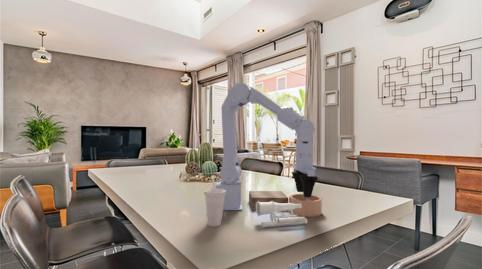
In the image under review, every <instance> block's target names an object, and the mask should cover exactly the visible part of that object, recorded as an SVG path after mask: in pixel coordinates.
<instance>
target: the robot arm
mask: <svg viewBox="0 0 482 269" xmlns="http://www.w3.org/2000/svg"><path fill="white" fill-rule="evenodd" d="M249 103H250V104H258V105H259V106H262V107H263V108H264V109H265V110H267V111H269V112H271V113H273V114H274V115H276V120H277V121H278V122H279V123H281V124H282V125H284V126H285V127H287V128H289V129H290V130H291V131H295V133H296V142H295V166H294V170H295V171H291V174H292V177H293V179H294V183H295V188H296V191H297V193H302V194H304V197H311V195H313V192H314V187H315V185H316V183H317V181H318V180H319V177H318V176H317V175H315V174H316V173H315V171H316V170H317V167H314V166H313V165H314V141H313V139H314V137H313V136H314V135H313V134H314V133H315V130H316V127H315V125H314V123H313V122H312V121H311V120H309V119H305V118H306V117H305V116H304V115H301V114H299V113H297V112H296V111H295V110H294V108H293V107H291V106H290V107H288V106H280V105H279V104H278V103H276V102H275V101H273V100H272V99H270V98H269V97H268V96H266V95H265V94H263V93H262V92H261V91H259V90H257V89H255V88H254V87H252V86H249V85H247V84H246V83H244V82H238V83H235V84H233V86H232V87H230V88H229V90H228V92H227V95H226V97H225V99H224V101H223V103H222V105H221V109H220V110H221V128H222V130H221V131H222V148H223V157H222V162H221V169H220V172H219V176H220V179H221V180H220V182H215V183H214V188H218V189H224V190H226V195H225V199H224V206H223V211H242V210H243V206H242V203H241V200H242V199H241V198H242V196H241V195H242V181H241V179H240V177H241V175H242V172H243V170H242V168H241V165H240V163H239V156H238V143H237V142H238V141H237V124H236V121H237V120H236V112H237V111H238V110H239V109H240V108H242V107H243V106H246V105H247V104H249Z"/></svg>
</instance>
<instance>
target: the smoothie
mask: <svg viewBox="0 0 482 269" xmlns="http://www.w3.org/2000/svg"><path fill="white" fill-rule="evenodd" d="M215 178H216V176H215V175H212V188H207V189H205V190H204V191H203V192H204V193H203V195H204V198H205V206H206V216H207V217H206V218H207V225H208V227H213V228H214V227H220V226H221V225H222V218H223V211H224V210H223V206H224V199H225V195H226V190H224V189H218V188H215V183H216V181H215Z"/></svg>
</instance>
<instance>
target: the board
mask: <svg viewBox="0 0 482 269" xmlns="http://www.w3.org/2000/svg"><path fill="white" fill-rule="evenodd" d="M270 201H273V202H275V203H289V196H287V195H286V194H285V193H284V192H283V191H282V190H248V203H249V205H250V207H251V208H250V209H251V210H256V202H270Z"/></svg>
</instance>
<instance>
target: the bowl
mask: <svg viewBox="0 0 482 269" xmlns="http://www.w3.org/2000/svg"><path fill="white" fill-rule="evenodd" d="M298 199H309V200H311V201H305V200H298ZM288 203H293V204H301V205H302V208H296V209H293V210H292V211H293V214H294V215H297V217H303V216H304V217H305V218H315V217H319V216H321V215H322V212H323V198H322V197H320V196H319V195H314V194H312V195H311V197H304V194H303V193H293V194H290V195H289V196H288ZM288 212H290V213H291V211H290V210H288Z"/></svg>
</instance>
